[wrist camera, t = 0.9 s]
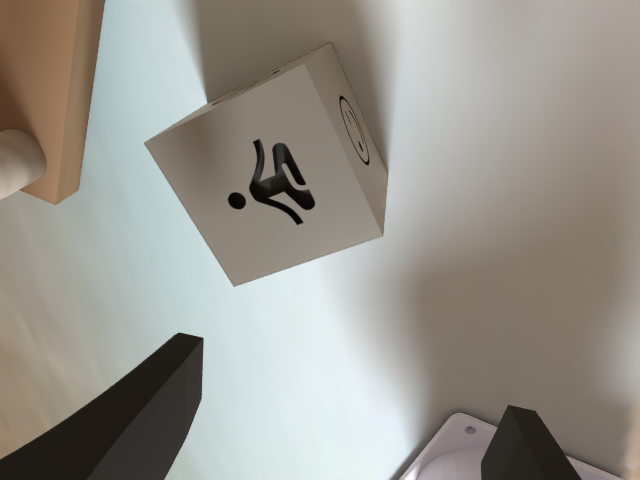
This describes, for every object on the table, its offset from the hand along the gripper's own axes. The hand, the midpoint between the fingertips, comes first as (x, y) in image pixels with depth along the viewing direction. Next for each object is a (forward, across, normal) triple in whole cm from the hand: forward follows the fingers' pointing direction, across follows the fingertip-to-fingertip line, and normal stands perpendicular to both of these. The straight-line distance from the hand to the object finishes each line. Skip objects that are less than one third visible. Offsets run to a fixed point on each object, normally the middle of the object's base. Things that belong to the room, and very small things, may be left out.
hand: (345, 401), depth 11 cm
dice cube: (+9, +3, -3) cm, 10 cm away
